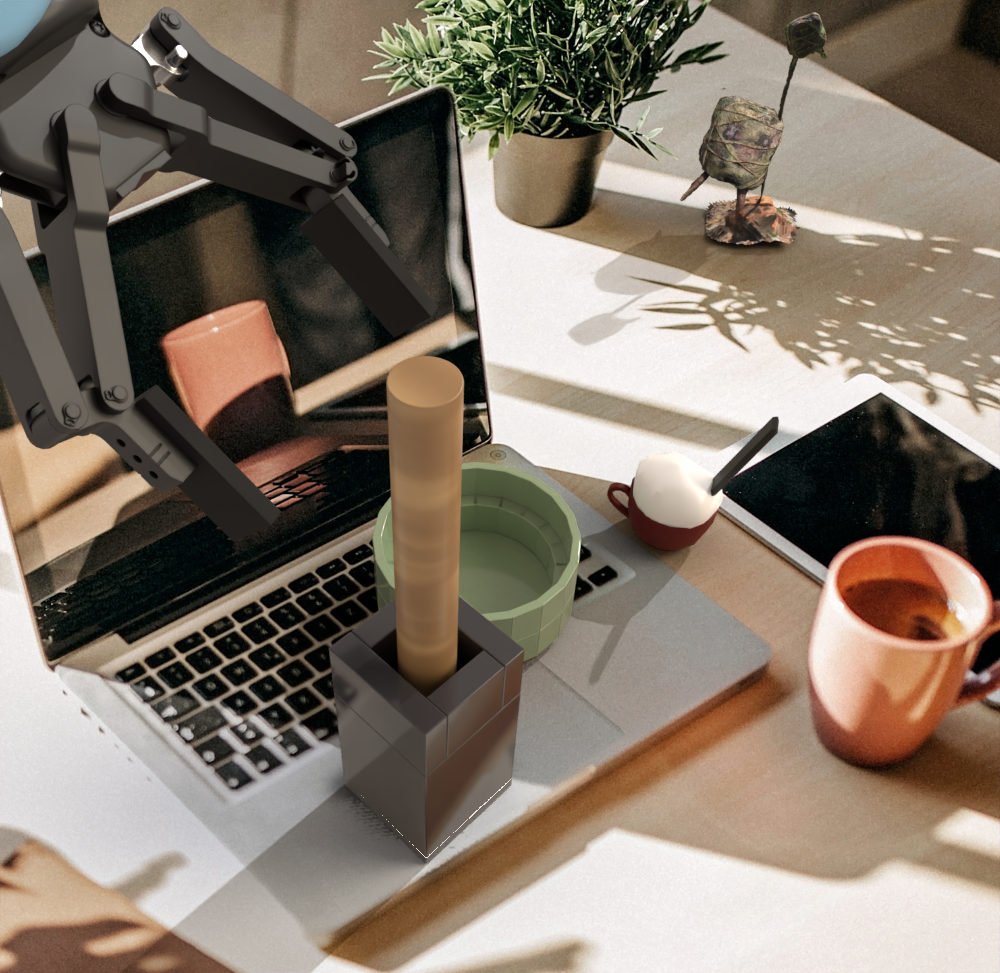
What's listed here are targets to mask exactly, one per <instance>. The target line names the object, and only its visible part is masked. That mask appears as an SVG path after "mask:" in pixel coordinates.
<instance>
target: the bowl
mask: <svg viewBox="0 0 1000 973" xmlns="http://www.w3.org/2000/svg"><path fill="white" fill-rule="evenodd" d="M376 517H377V518H376V521H375V524H374V528H373V532H372V537H371V539H372V554H373V556H372V557H373V571H374V572H373V573H374V588H375V596H376V603H377V611H379V610H380V609H381V608H383V607H384V606H385V605H387V604H388V603H389V602H391V601H392V600H393V599H395V581H394V556H393V532H392V508H391V496H390V497H389V498H388V499H387V501H385V503H384V505H383V506H382V507H381V508H380V510H379V512H378V514H377V516H376ZM581 546H582V535H581V532H580V529H579V526H578V522H577V518H576V515H575V513H574V512H573V510H572V509H571V508H570V506H569V505H568V504H567V503H566V501H565V500H564V498H563V497H562V496H561V494H559V492H557V491H556V490H555V489H553V488H552V487H550V486H549V485H548V484H546V483H545V482H544V481H542V480H541V479H539V478H538V477H537V476H535V475H533V474H529V473H527V472H524V471H522V470H519V469H517V468H514V467H512V466H509V465H508V466H507V465H504V464H495V463H488V462H480V461H472V462H471V461H470V462H462V482H461V521H460V560H459V597H461V598H462V599H463V600H464V601H466V602H467V603H468V604H469V605H471V606H472V607H473V608H474V609H475V610H477V611H478V612H479V613H480V614H482V615H483V616H484V617H485V618H487V619H488V620H489V621H490V622H491V623H493V624H494V625H495V626H496V627H498V628H499V629H500V630H501V631H503V632H504V633H505V634H506V635H507V636H509V637H510V638H511V639H512V640H514V641H515V642H516V643H517V644H519V645H520V646H521V647H522V648H524V650H525V654H524V662H526V661H528V660H531V659H533V658H535V657H537V656H538V655H540V653H542V652H543V651H544V650H546V649H547V648H548V647H549V646H550V645H551V644H552V643H554V642H555V641H556V640H557V639H558V638H559V637H560V636H561V634H562V632H563V630H564V628H565V627H566V625H567V623H568V621H569V619H570V617H571V615H572V613H573V605H574V599H575V591H576V584H577V578H578V573H579V572H578V571H579V565H580V558H581V548H582V547H581Z"/></svg>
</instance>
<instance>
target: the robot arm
mask: <svg viewBox="0 0 1000 973" xmlns="http://www.w3.org/2000/svg"><path fill="white" fill-rule="evenodd" d="M161 86H163V87H164V88H165V89H167V90H168V91H169V92H170V93H171V94H169V93H166V92H163V91H161V90H158V88H160V87H161ZM172 94H173V95H172ZM315 146H316V147H317V148H315ZM357 152H358V146H357V143H356V141H355V139H354V138H353V137H352V135H350V134H349V133H348V132H346V131H345V130H343V129H342V128H340V127H339V126H337V125H335V124H334V123H333V122H330V121H329V120H328V119H326V118H324V117H323V116H322V115H319V114H318V113H317V112H315V111H314V110H312V109H310V108H308V107H307V106H305V105H304V104H303V103H301V102H299V101H298V100H296V99H295V98H294V97H291V96H290V95H288V94H287V93H285V92H284V91H282V90H280V89H279V88H277V86H275V85H273V84H271V83H270V82H268V81H266V80H265V79H264V78H262V77H260V76H259V75H257V74H256V73H255V72H253V71H252V70H249V69H248V68H246V67H245V66H243V65H241V64H240V63H239V62H237V61H235V60H234V59H232V58H230V57H229V56H228V55H226V54H225V53H223V52H221V51H220V50H218V49H217V48H215V47H213V46H212V45H211V44H210V43H209V42H208V41H207V40H206V39H205V38H204V37H203V36H202V35H201V34H200V33H199V31H197V30H196V29H195V28H194V26H192V24H190V23H189V21H187V19H186V18H184V16H182V14H181V13H179V12H178V11H177V10H176V9H174V8H172V7H170V6H169V7H167V6H163V7H162V8H160V9H159V10H158V11H157V13H156V14H155V15H154V16H153V17H152V18H151V19H150V21H149V22H148V23H147V24H146V25H145V26H144V27H143V29H142V30H141V31H140V32H139V33H138V34H137V36H136V37H135V38H134V39H133V40H132V41H131V43H130V44H129V43H128V42H126V41H124V40H123V39H121V38H120V37H118V36H117V35H116V34H114V33H113V32H112V31H111V30H110V29H109V28H108V27H107V25H106V23H105V22H104V20H103V17H102V14H101V10H100V1H99V0H0V376H1V379H2V381H3V383H4V386H5V388H6V390H7V393H8V395H9V398H10V400H11V402H12V405H13V408H14V410H15V413H16V415H17V417H18V420H19V422H20V425H21V427H22V429H23V432H24V434H25V436H26V438H27V440H28V441H29V443H30V444H31V445H33V446H34V447H35V448H37V449H40V450H50V449H52V448H54V447H55V446H57V445H59V444H61V443H63V442H65V441H66V442H67V441H68V440H71V439H73V438H76V437H87V436H89V435H94V436H97V437H98V438H101V439H102V440H103V441H104V442H105V443H106V444H107V445H108V446H109V447H110V448H111V449H113V451H114V452H116V454H118V456H120V458H122V459H123V460H124V462H126V463H127V464H128V465H129V466H130V467H132V469H133V470H134V471H135V472H136V473H137V474H138V475H140V477H141V478H142V479H143V480H144V481H145V482H146V483H147V484H148V485H149V486H150V487H151V488H154V489H156V490H158V491H160V492H163V493H166V492H168V491H170V490H172V489H173V488H176V487H177V488H178V489H179V490H180V491H182V493H183V494H184V495H186V497H187V498H188V499H190V500H191V502H192V503H194V505H195V506H196V507H198V508H199V510H201V511H202V513H204V514H205V516H207V517H208V518H209V519H210V520H211V521H212V522H213V523H214V524H215V525H216V526H217V527H218V528H219V529H220V530H221V531H222V532H223V533H224V534H225V535H226V536H227V537H228V538H229V539H230V540H231V541H232V542H236V541H238V540H240V539H243V538H245V537H247V536H250V535H252V534H255V533H257V532H259V531H262V530H263V529H266V528H268V527H271V526H273V524H274V522H275V521H276V520H277V518H278V517H279V516H280V514H282V511H281V510H280V509H279V508H278V507H277V506H276V505H275V504H274V502H273V501H272V500H270V499H269V497H267V495H266V494H265V493H263V491H262V490H261V489H259V487H258V486H257V485H256V484H255V483H254V482H253V481H252V480H251V479H250V478H249V477H248V476H247V475H246V474H245V473H244V472H243V471H242V470H241V468H239V467H238V466H237V465H236V464H235V463H234V461H232V460H231V459H230V457H228V456H227V455H226V453H225V452H223V450H221V448H220V447H219V446H218V445H217V444H216V443H215V442H214V441H212V439H211V438H210V437H209V436H208V435H207V434H206V433H204V431H203V430H202V429H201V428H200V427H199V425H197V424H196V423H195V422H194V420H192V419H191V418H190V417H189V416H188V415H187V414H186V413H185V412H184V411H183V410H182V409H181V407H179V406H178V405H177V403H175V402H174V401H173V399H172V398H171V397H169V396H168V394H167V393H165V391H164V390H162V388H161V387H160V386H158V385H157V384H155V385H153V386H151V387H150V388H149V389H147V390H146V391H144V392H143V393H141V394H140V395H138V396H137V397H135V390H134V386H133V380H132V373H131V368H130V367H131V366H130V362H129V356H128V350H127V345H126V339H125V333H124V329H123V322H122V317H121V311H120V306H119V305H120V304H119V299H118V293H117V288H116V282H115V277H114V271H113V266H112V259H111V253H110V249H109V244H108V243H109V242H108V237H107V227H108V225H109V221H110V213H111V212H112V211H113V210H114V209H115V208H116V207H117V206H119V204H120V203H121V202H123V200H125V199H126V198H127V197H128V195H130V194H131V193H132V192H134V191H137V190H138V189H139V188H141V187H142V186H143V185H144V184H145V183H147V182H148V181H149V180H150V179H151V178H153V177H154V175H156V174H157V172H159V173H164V174H171V173H174V172H181V173H185V174H188V175H191V176H195V177H198V178H200V179H203V180H207V181H210V182H213V183H216V184H220V185H222V186H225V187H228V188H232V189H234V190H238V191H241V192H244V193H247V194H250V195H253V196H257V197H258V198H259V197H260V198H263V199H266V200H269V201H272V202H275V203H278V204H282V205H285V206H288V207H290V208H294V209H297V210H299V211H303V212H307V213H311V212H313V214H312V215H310V216H309V217H308V218H307V219H306V220H305V221H303V222H302V224H301V225H300V226H299V227H298V229H299V230H300V231H301V233H303V235H304V236H305V237H306V238H307V239H308V240H309V242H310V243H311V245H313V246H314V248H316V250H317V251H318V252H319V253H320V254H321V255H322V256H323V258H324V259H325V260H326V261H327V262H328V263H329V264H330V266H331V267H332V268H333V269H334V270H335V271H336V273H337V274H338V275H339V276H340V277H341V279H342V280H343V281H344V282H345V283H346V284H347V285H348V286H349V288H350V289H351V290H352V291H353V292H354V293H355V295H356V296H357V297H358V298H359V299H360V300H361V301H362V302H363V304H364V305H365V306H366V307H367V309H368V310H369V311H370V312H371V313H372V314H373V315H374V317H375V318H376V319H377V320H378V321H379V323H381V325H382V326H383V327H384V328H385V329H386V330H387V332H388V333H389V334H390V335H391V336H392V337H393V339H394V338H397V337H399V336H400V335H402V334H405V332H407V331H409V330H410V329H412V328H414V327H416V326H418V325H420V324H421V323H423V322H426V321H428V320H429V319H430V318H432V317H433V315H434V314H435V313H436V311H437V310H438V309H439V306H438V305H437V304H436V302H435V301H434V300H433V299H432V298H431V297H430V296H429V294H428V293H427V292H426V291H425V290H424V288H423V287H422V286H421V285H420V283H419V282H418V281H417V280H416V279H415V277H414V276H413V275H412V274H411V273H410V271H408V269H407V268H406V267H405V266H404V264H403V263H402V262H401V261H400V260H399V258H398V257H397V256H396V255H395V254H394V253H393V252H392V251H391V249H390V248H389V246H390V245H391V242H390V240H389V237H388V236H387V234H386V232H385V231H384V230H383V228H382V227H381V226H380V225H379V224H378V223H377V221H376V220H375V218H374V217H372V216H371V214H370V213H369V212H368V210H366V208H365V207H364V206H363V204H362V203H361V202H360V201H359V200H358V198H357V197H356V196H355V194H353V192H352V191H351V190H350V188H349V187H348V186H349V185H350V184H351V183H353V182H354V181H356V179H357V178H358V174H359V171H358V167H357V165H356V164H355V161H353V160H352V158H353V157H355V156H356V155H357ZM3 192H5V193H8V194H11V195H13V196H16V197H20V198H23V199H26V200H28V201H30V206H31V214H32V218H33V219H32V220H33V224H34V230H35V237H36V243H37V247H38V250H39V251H40V252H41V253H42V254H44V255H45V259H46V264H47V271H48V276H49V282H50V288H51V295H52V301H53V306H54V313H55V319H56V324H57V330H58V334H57V331H56V328H55V326H54V324H53V321H52V319H51V317H50V314H49V312H48V309H47V307H46V305H45V303H44V300H43V297H42V294H41V293H40V290H39V287H38V285H37V282H36V280H35V278H34V276H33V274H32V271H31V269H30V266H29V264H28V261H27V259H26V256H25V254H24V252H23V249H22V247H21V245H20V241H19V240H18V237H17V235H16V232H15V230H14V228H13V226H12V224H11V222H10V220H9V218H8V217H7V215H6V214H5V212H4V209H3V207H4V200H3V197H2V194H3Z"/></svg>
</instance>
